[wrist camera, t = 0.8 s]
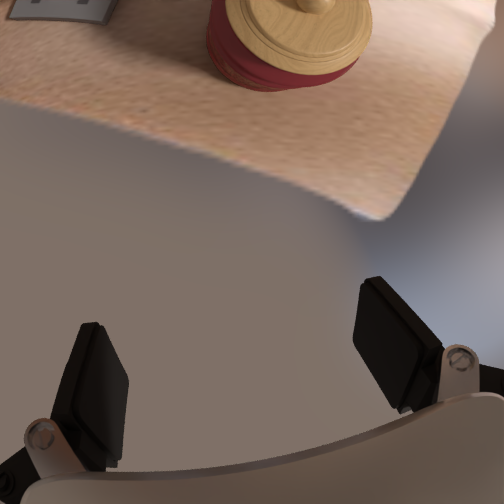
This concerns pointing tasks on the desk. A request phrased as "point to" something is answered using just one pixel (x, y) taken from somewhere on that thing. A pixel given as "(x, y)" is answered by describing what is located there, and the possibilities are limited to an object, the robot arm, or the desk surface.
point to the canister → (287, 41)
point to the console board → (64, 10)
